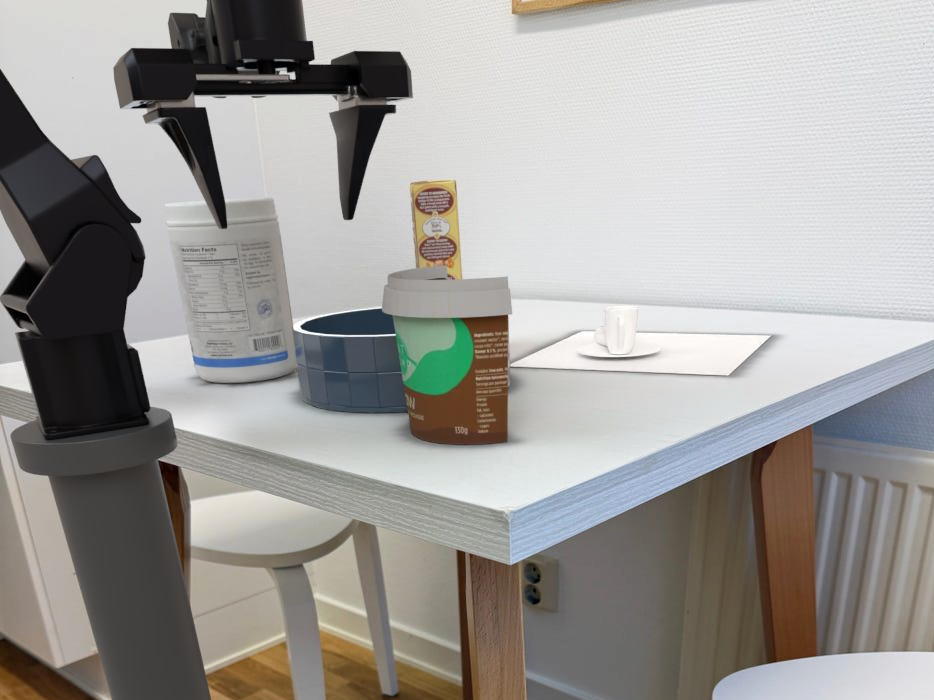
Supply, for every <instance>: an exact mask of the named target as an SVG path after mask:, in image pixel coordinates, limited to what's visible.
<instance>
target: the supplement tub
mask: <svg viewBox="0 0 934 700" xmlns="http://www.w3.org/2000/svg"><path fill="white" fill-rule="evenodd" d="M224 199H225V204H226V214H227V229H219V228H218V226H217V224H216V222H215V220H214V218H213V216H212V214H211V212H210V210H209V208H208V206H207V203H206V201H205V200H193V201H181V202H180V201H179V202H170V203H165V204H164V211H165V212H164V213H165V216H166V217H165V218H166V222H165V224H166V226H167V235H168V239H169V245H170V250H171V254H172V259H173V265H174V269H175V274H176V279H177V284H178V289H179V295H180V301H181V305H182V310H183V315H184V319H185V325H186V330H187V335H188V340H189V345H190V351H191V356H192V360H193V364H194V369H195V373H196V374H197V376H198V377H200V378H201V379H202V380H204V381H207V382H210V383H218V384H242V383H243V384H244V383H253V382H261V381H267V380H272V379H276V378H277V379H278V378H280V377H284V376H287V375H289V374H291V373H292V372H294V371H295V370H296V369H297V363H296V356H295V349H294V341H293V334H292V326H293V325H294V321H293V313H292V306H291V300H290V292H289V285H288V279H287V272H286V271H287V270H286V264H285V258H284V257H285V256H284V249H283V243H282V242H283V241H282V236H281V229H280V222H279V220H278V218H279V217H278V214H277V212H276V211H277V210H276V205H275V200H274V198H273V197H243V198H241V197H240V198H224Z"/></svg>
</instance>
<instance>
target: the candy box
mask: <svg viewBox="0 0 934 700" xmlns="http://www.w3.org/2000/svg"><path fill="white" fill-rule="evenodd" d="M409 195H410V196H409V197H410V209H411V223H412V238H413V250H414V261H415V262H414V263H415V268H422V267H431V266H443V265H446V266H447V277H448V280H456V279H463V268H462V253H461V252H462V251H461V250H462V249H461V237H460V236H461V235H460V222H459V221H460V220H459V207H458V206H459V205H458V190H457V180H455V179H432V180H431V179H430V180H423V181H421V180H420V181H414V182H413V181H412V182H411V183H409Z"/></svg>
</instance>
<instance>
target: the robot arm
mask: <svg viewBox="0 0 934 700" xmlns="http://www.w3.org/2000/svg"><path fill="white" fill-rule="evenodd" d="M168 15H169V16H168V20H167V27H168V34H169V40H170V46H171V47H169V48H168V47H167V48H163V47H159V48H158V47H131V48H129V50H127V51H126V52H125V53H124V54H123V55H121V56H120V57H119V59H118V60H117V62H116V63H115V65H114V66H113V80H114V81H113V82H114V85H115V91H116V95H117V100H118V101H117V102H118V105H119V109H120V110H146V112H147V113H145V114H143V115H142V119H143V121H144V123H145V124H146V125H158V126H159V127H160V128H161V129H162V130H163V131H164V133H165V134H166V135H167V136H168V138H169V139H170V140H171V141H172V143H173V144H174V146H175V147H176V149H177V151H178V152H179V153H180V155H181V157H182V159H183V160H184V162H185V164H186V165H187V167H188V169H189V171H190V173H191V175H192V177H193V179H194V181H195V182H196V186H197V187H198V189H199V192H200V193H201V195H202V197H203V200H204V201H206V203H207V206H208V208H209V210H210V212H211V214H212V216H213V218H214V220H215V222H216V224H217V226H218V228H219V229H227V214H226V204H225V199H226V198H225V194H224V189H223V185H222V179H221V175H220V171H219V170H220V169H219V165H218V162H217V155H216V150H215V145H214V141H213V135H212V130H211V126H210V120H209V116H208V110H207V107H206V106H197V105H196V99H195V97H196V98H197V97H199V98H200V97H201V98H202V97H205V98H206V97H207V98H209V97H210V98H215V99H226V98H227V97H251V98H252V99H261V98H265V97H292V96H293V97H309V96H311V97H314V96H317V97H318V96H320V97H321V96H324V97H325V96H327V97H329V96H331V97H332V98H333V99H334V100H335V101H336V102H337V108H338V110H334V111H331V112H329V113H328V115H329V119H330V122H331V126H332V128H333V131H334V134H335V139H336V155H337V175H338V193H339V194H338V195H339V203H340V209H341V215H342V219H343V220H344V221H353V219H354V217H355V213H356V210H357V206H358V203H359V199H360V194H361V191H362V188H363V187H362V186H363V183H364V179H365V176H366V172H367V168H368V164H369V160H370V157H371V155H372V151H373V150H374V149H373V148H374V146H375V144H376V141H377V138H378V136H379V132H380V130H381V128H382V125H383V122H384V120H385V118H386V117H388V116H391V115H395V114H397V104H394V103H398V102H403V101H407V100H410V99H411V100H412V99H414V95H413V80H412V69H411V68H410V66H409V64H408V61H407V60H406V59H405V57H404V55H403V54H402V52H401V51H400V50H399V51H396V50H395V51H393V50H392V51H389V50H387V51H386V50H381V51H380V50H353V51H349V52H347V53H345V54H343V55H340V56H337V57H335V58H332V59H330V64H324V63H323V64H322V63H321V64H316V63H315V64H313V63H312V64H311V63H310V62H312V61H315V60H316V56H315V48H314V47H315V46H314V40H308V39H307V31H306V30H307V29H306V21H305V13H304V3H303V0H206V7H205V17H204V16H199V15H198V14H197V13H194V12H192V13H191V12H170V13H169V14H168ZM281 72H286V74H282V73H281ZM280 73H281V74H280ZM290 74H292V75H293V74H294V77H295V78H294V79H293V78H291V76H290ZM0 213H1V215H2V218H3V220H4V222H5V224H6V226H7V228H8V230H9V232H10V233H11V236H12V237H13V239H14V242H15V243H16V245H17V247H18V248H19V250H20V252H21V254H22V257H23V258H24V261H23V262H22V263H21V265H20V266H19V268H18V269H17V271H16V272H15V274H14V275H13V277H12V278H11V279H10V281H9V282H8V284H7V285H6V287H5V288H4V289H3V290H2V292H1V294H0V303H1V305H2V306H3V308H4V309H5V311H6V312H7V314H8V315H9V317H10V319H11V320H12V321H13V323H14V324H15V326H16V327H17V328H19V329H22V330H24V331H17V332H14V335H15V338H16V342H17V345H18V349H19V353H20V356H21V357H20V358H21V360H22V363H23V368H24V371H25V374H26V378H27V381H28V384H29V388H30V391H31V396H32V399H33V402H34V406H35V410H36V414H37V415H36V416H35V420H37V423H38V426H39V428H40V430H41V432H42V435H43V437H44V439H45V440H57V439H63V438H70V437H76V436H82V435H89V434H95V433H101V432H108V431H114V430H121V429H127V428H133V427H140V426H146V425H149V424H150V422H149V417H148V416H147V415H146V414H145V413H146V412H149V410H150V409H151V408H150V407H151V404H150V399H149V395H148V390H147V386H146V385H147V384H146V381H145V377H144V372H143V368H142V362H141V359H140V354H139V350H138V349H136V348H135V347H133V345H131V344H129V343H127V338H126V334H125V321H126V314H127V306H128V297H129V296H131V295H132V294H133V293H134V292H135V291H136V290H137V288H138V287H139V284H140V282H141V280H142V279H143V275H144V267H145V261H146V252H145V247H144V244H143V242H142V240H141V238H140V235H139V234H138V231H137V230H136V228H135V227H134V226H133V224H141V223H142V217H140V216H139V215H138V214H137V213H136V212H134V211H133V210H131V209H130V208H129V206H128V205H127V204H126V203H125V202H124V201H123V199H122V198H121V196H120V194H119V193H118V191H117V189H116V187H115V185H114V182H113V179H112V178H111V176H110V174H109V172H108V170H107V167H106V166H105V165H104V163H103V161H102V159H101V158H100V157H99V155H97V154H92V155H88V156H82V157H78V158H71V159H70V158H69V157H68V155H66V154H65V153H64V152H63V151H62V150H61V149H60V148H59V147H57V145H56V144H55V143H53V142H52V141H51V140H50V138H49V137H48V136H47V135H46V134H45V133H44V131H43V130H42V129H41V127H40V126H39V125H38V123H37V121H36V120H35V119H34V117H33V115H32V114H31V112H30V111H29V109H28V108H27V106H26V105H25V104H24V102H23V100H22V98H21V97H20V96H19V94H18V93H17V91H16V90H15V89H14V87H13V85H12V84H11V83H10V81H9V80H8V78H7V76H6V74H5V73H4V72H3V70H2V69H1V68H0ZM25 330H26V331H25Z"/></svg>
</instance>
